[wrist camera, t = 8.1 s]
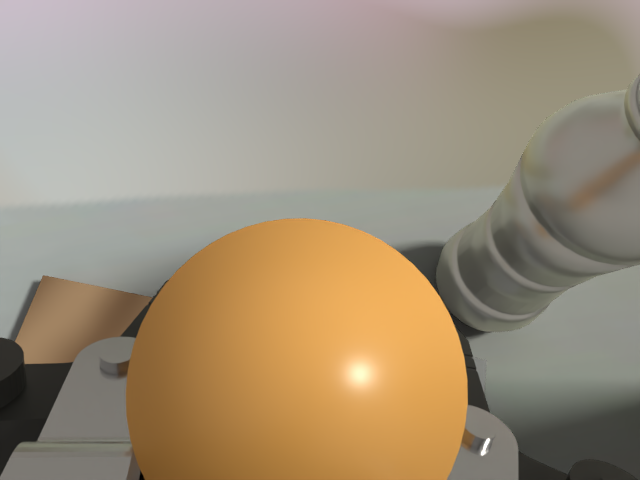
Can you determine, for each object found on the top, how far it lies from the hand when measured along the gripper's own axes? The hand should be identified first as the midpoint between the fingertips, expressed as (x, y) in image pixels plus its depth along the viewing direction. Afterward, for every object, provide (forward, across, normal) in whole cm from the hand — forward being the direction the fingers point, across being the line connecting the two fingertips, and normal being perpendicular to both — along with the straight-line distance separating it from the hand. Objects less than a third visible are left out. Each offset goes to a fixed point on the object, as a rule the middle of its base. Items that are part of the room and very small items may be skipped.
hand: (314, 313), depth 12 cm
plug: (+2, 0, +5) cm, 6 cm away
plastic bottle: (+19, -10, +8) cm, 23 cm away
